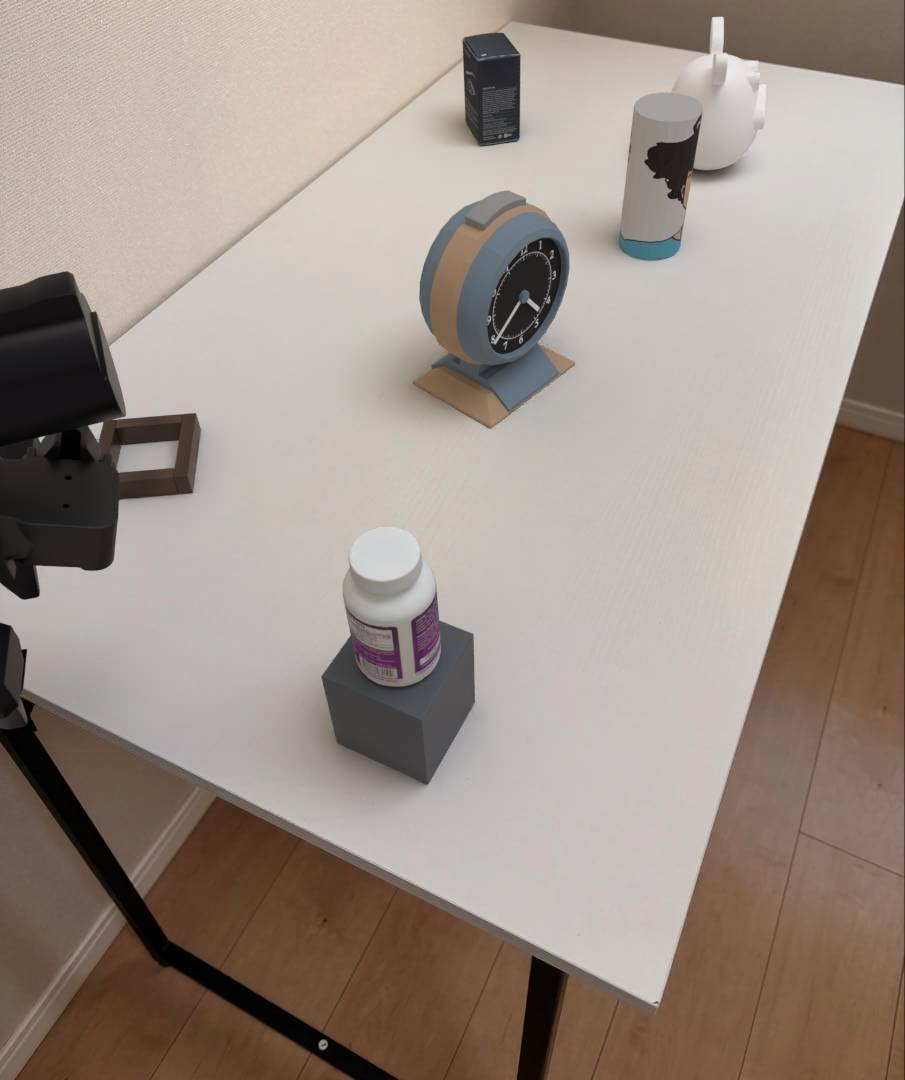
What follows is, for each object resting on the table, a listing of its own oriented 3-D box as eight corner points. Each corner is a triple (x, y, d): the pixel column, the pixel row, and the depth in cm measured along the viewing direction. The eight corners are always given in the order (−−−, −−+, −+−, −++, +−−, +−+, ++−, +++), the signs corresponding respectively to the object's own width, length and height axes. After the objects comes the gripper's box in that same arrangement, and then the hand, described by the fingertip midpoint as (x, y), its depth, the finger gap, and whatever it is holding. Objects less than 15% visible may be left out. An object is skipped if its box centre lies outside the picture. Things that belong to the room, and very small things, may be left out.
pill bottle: (419, 608, 61) (410, 504, 54) (455, 669, 57) (451, 567, 50) (341, 639, 59) (321, 536, 52) (374, 703, 56) (357, 603, 49)
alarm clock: (483, 434, 84) (482, 257, 71) (405, 388, 88) (391, 214, 75) (581, 359, 91) (597, 185, 77) (504, 320, 95) (507, 150, 82)
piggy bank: (770, 182, 112) (801, 49, 101) (676, 192, 112) (696, 59, 100) (734, 135, 121) (759, 8, 109) (645, 145, 120) (661, 17, 109)
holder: (95, 501, 80) (88, 484, 78) (110, 436, 85) (103, 420, 84) (192, 492, 80) (187, 476, 78) (201, 429, 85) (196, 412, 84)
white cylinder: (688, 256, 102) (712, 118, 91) (628, 263, 102) (645, 124, 90) (669, 224, 107) (690, 89, 95) (611, 231, 106) (626, 95, 95)
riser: (336, 742, 63) (320, 676, 57) (388, 665, 67) (378, 595, 62) (427, 785, 61) (421, 720, 55) (475, 702, 65) (474, 633, 59)
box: (520, 141, 121) (522, 53, 113) (478, 147, 121) (477, 59, 113) (504, 115, 127) (504, 29, 119) (463, 120, 126) (461, 34, 118)
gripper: (69, 581, 37) (169, 771, 49) (88, 315, 50) (164, 518, 61) (-229, 634, 36) (-54, 817, 48) (-134, 348, 48) (-13, 549, 60)
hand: (25, 657), depth 54 cm, fingers open, 9 cm apart
